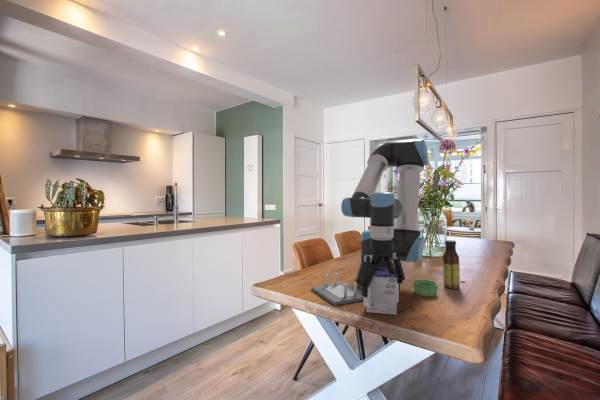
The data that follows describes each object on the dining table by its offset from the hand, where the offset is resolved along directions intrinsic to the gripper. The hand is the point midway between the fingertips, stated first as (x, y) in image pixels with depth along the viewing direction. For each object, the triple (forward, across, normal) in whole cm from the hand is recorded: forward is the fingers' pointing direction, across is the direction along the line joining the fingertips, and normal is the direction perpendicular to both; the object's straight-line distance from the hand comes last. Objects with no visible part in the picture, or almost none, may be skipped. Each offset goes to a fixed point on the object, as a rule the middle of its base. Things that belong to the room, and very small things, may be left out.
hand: (381, 303), depth 95 cm
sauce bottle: (+3, +44, +8) cm, 45 cm away
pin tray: (+2, -4, +19) cm, 20 cm away
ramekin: (+3, +28, +7) cm, 29 cm away
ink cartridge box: (+3, 0, 0) cm, 3 cm away
